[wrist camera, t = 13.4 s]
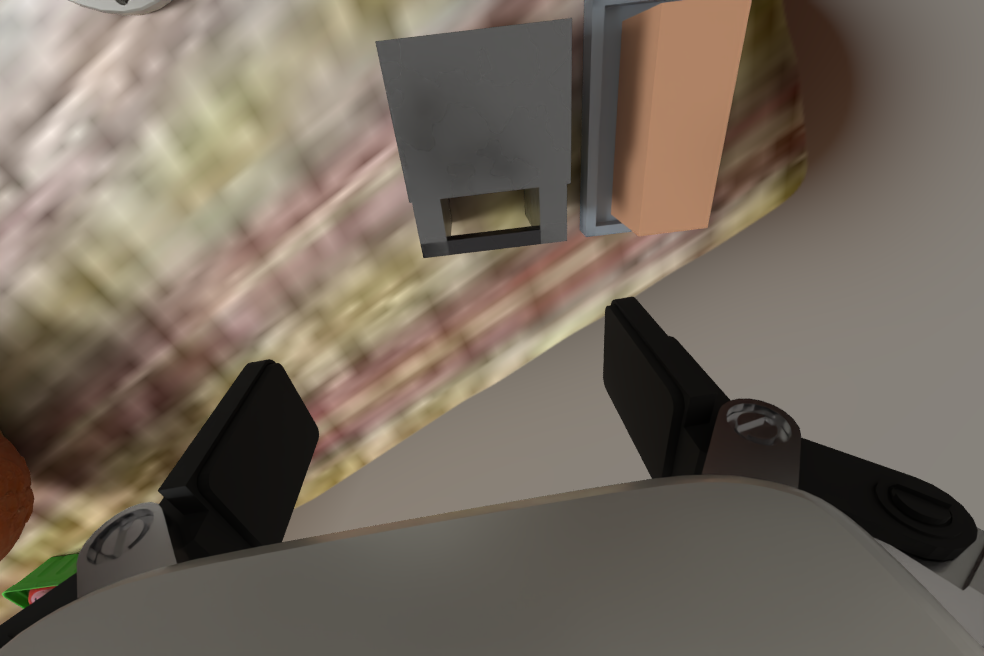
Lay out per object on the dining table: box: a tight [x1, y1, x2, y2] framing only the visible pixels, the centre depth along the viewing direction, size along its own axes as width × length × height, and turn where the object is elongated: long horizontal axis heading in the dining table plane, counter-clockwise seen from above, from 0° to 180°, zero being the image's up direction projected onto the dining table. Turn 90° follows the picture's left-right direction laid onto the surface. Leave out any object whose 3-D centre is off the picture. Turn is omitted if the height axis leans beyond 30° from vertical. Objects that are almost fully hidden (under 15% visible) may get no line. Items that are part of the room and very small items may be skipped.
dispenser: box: [375, 18, 572, 258], centre depth 26 cm, size 12×10×9 cm
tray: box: [580, 0, 682, 237], centre depth 29 cm, size 16×10×2 cm, turn 6°
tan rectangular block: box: [611, 0, 752, 236], centre depth 27 cm, size 13×5×6 cm, turn 6°
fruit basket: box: [2, 554, 78, 609], centre depth 51 cm, size 11×9×11 cm
